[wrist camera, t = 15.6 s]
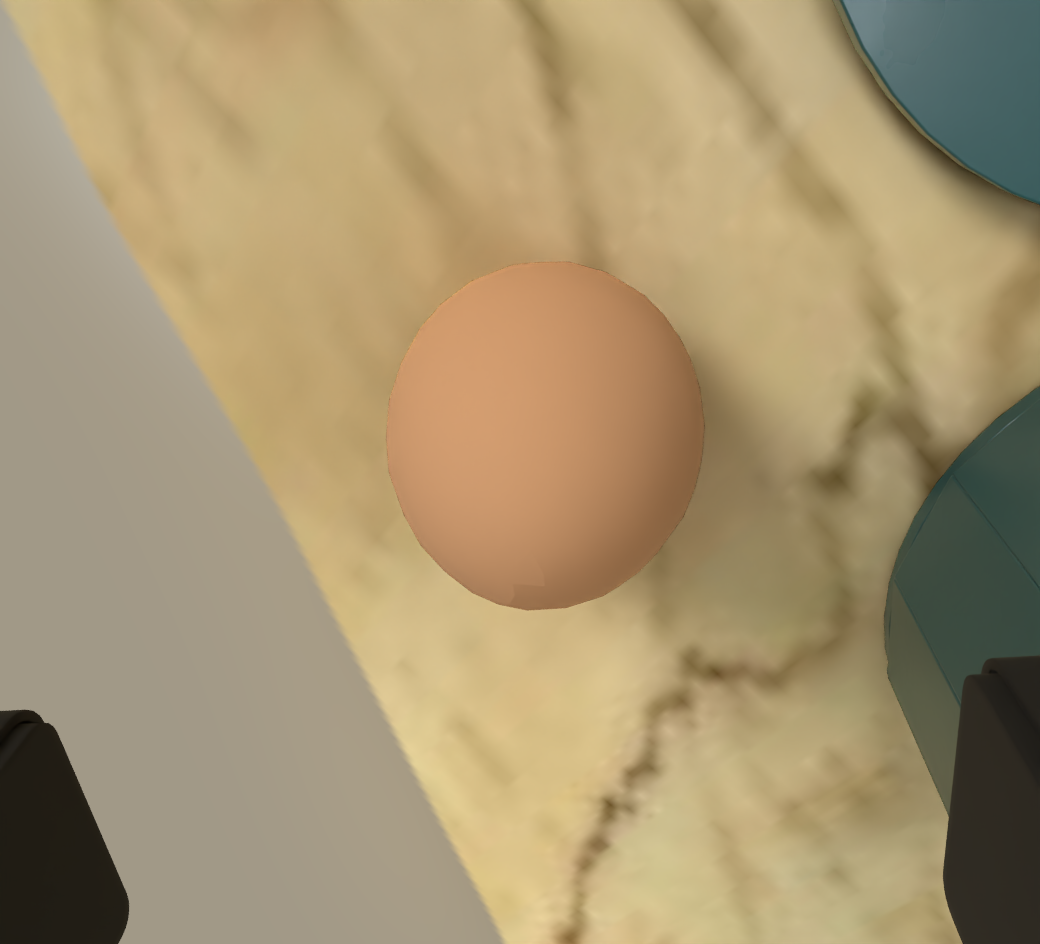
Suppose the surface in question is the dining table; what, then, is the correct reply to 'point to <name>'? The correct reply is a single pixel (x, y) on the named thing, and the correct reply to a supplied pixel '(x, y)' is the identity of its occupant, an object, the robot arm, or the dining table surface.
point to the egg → (545, 434)
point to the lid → (960, 78)
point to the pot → (967, 582)
